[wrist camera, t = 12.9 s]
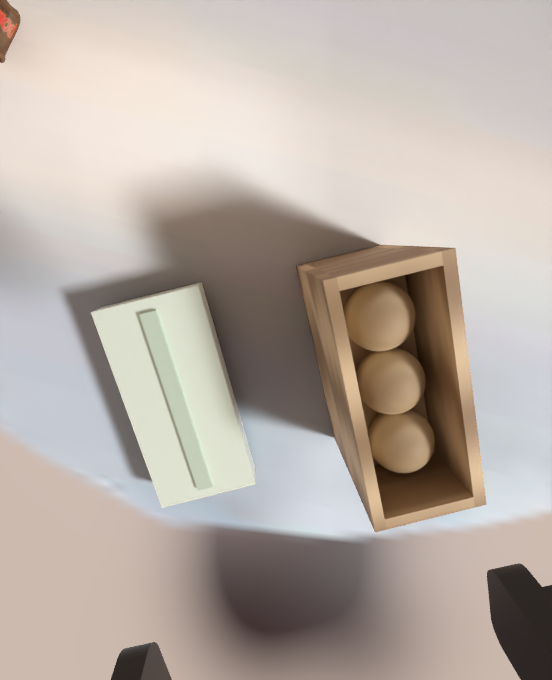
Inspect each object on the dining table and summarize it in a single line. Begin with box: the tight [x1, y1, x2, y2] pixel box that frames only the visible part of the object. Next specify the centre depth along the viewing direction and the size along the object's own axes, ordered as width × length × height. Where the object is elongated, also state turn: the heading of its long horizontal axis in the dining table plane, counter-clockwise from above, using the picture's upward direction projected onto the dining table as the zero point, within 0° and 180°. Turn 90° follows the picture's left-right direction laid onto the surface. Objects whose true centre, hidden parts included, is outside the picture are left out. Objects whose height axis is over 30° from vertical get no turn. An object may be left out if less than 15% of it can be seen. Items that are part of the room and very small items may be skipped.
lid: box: [91, 282, 256, 508], centre depth 27 cm, size 14×7×3 cm, turn 14°
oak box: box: [296, 245, 486, 532], centre depth 24 cm, size 13×6×10 cm, turn 13°
